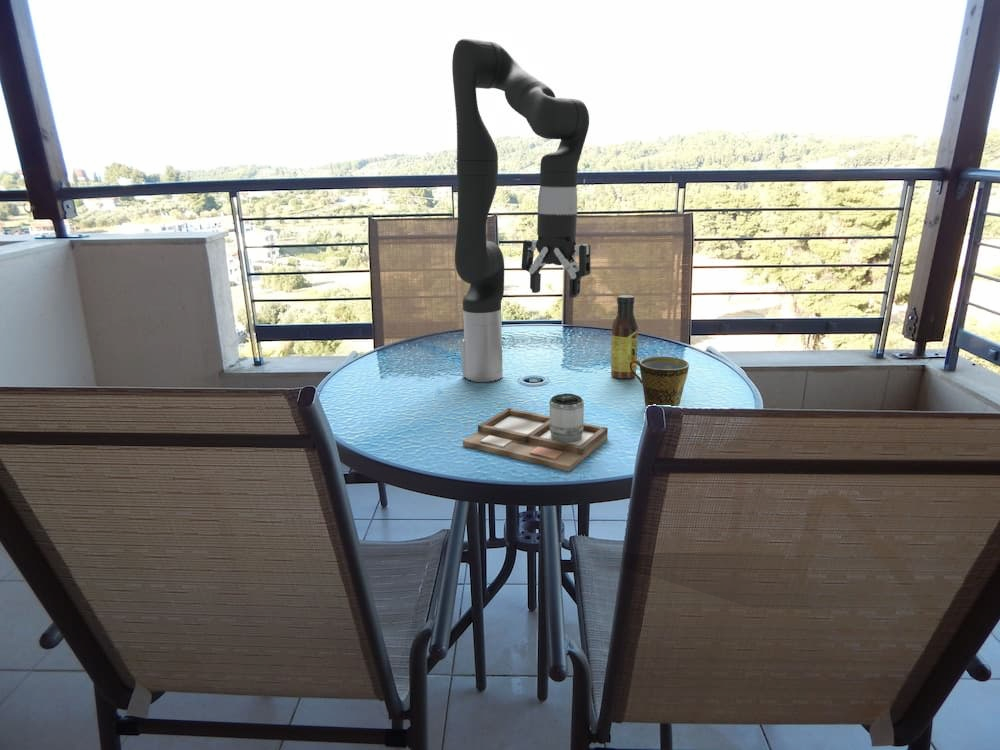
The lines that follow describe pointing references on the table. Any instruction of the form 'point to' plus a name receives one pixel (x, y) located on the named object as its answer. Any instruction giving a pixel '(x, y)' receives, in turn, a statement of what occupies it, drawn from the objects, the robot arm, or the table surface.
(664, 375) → the ceramic cup
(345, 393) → the table surface
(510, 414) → the board
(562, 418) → the camera lens
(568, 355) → the table surface
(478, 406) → the table surface
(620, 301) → the sauce bottle
